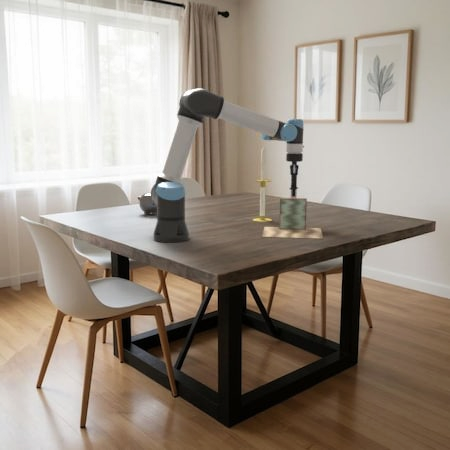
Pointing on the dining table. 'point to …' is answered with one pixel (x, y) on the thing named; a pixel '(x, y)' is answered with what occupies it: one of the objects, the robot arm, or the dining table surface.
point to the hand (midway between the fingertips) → (293, 202)
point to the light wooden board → (292, 233)
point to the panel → (293, 213)
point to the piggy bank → (147, 204)
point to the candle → (262, 188)
